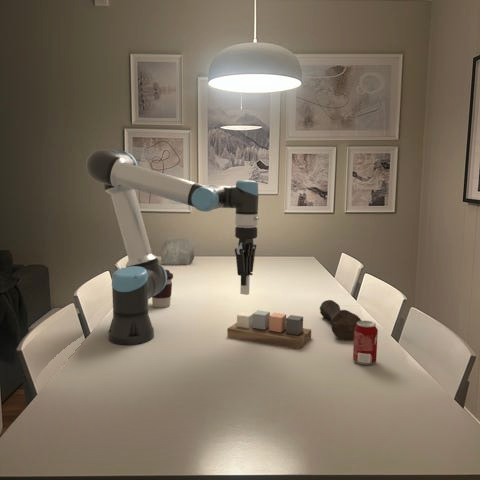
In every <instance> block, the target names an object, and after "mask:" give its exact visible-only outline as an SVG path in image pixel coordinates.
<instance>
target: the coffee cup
mask: <svg viewBox="0 0 480 480" xmlns="http://www.w3.org/2000/svg"><path fill="white" fill-rule="evenodd" d="M164 269H165V271H166V273H167V283H166V285H165V287H164V288H163V290H162V291H161V292H160V293H159V294H157V295H155V296H153V297H151V301H152V306H153V307H154V308H159V309H160V308H161V309H162V308H163V309H164V308H169V307H170V306H171V299H172V298H171V297H172V288H173V287H172V286H173V282H172V280H173V278H174V274H173V273H172V272H170V270H169V269H166V268H164Z"/></svg>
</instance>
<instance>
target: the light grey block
mask: <svg viewBox="0 0 480 480" xmlns="http://www.w3.org/2000/svg"><path fill="white" fill-rule="evenodd" d="M252 313H253V312H252ZM270 315H271V312H270V311H264V310H257V311H255V312H254V313H253V328H257V329H263V330H265V329H266V328H268V327H269V316H270Z"/></svg>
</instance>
